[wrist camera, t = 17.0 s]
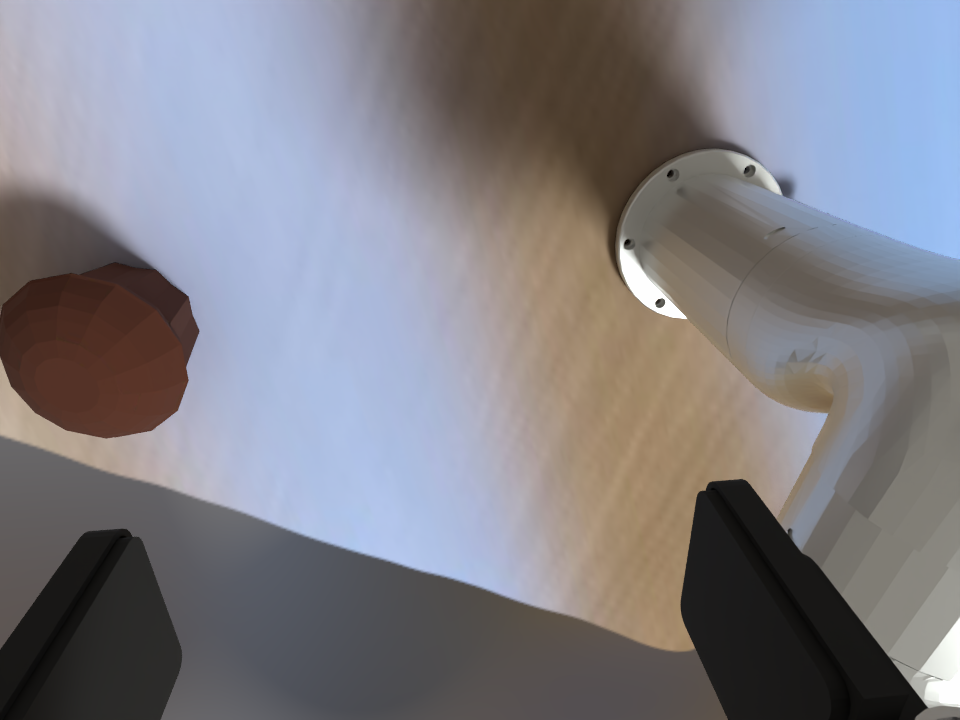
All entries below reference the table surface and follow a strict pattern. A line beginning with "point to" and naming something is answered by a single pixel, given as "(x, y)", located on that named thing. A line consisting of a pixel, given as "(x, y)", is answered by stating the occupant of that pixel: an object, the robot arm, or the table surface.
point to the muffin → (99, 349)
